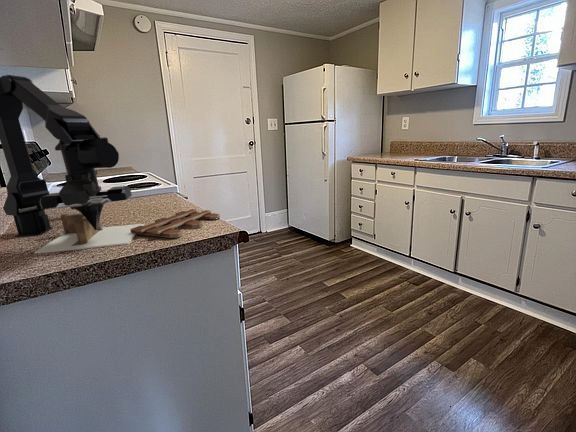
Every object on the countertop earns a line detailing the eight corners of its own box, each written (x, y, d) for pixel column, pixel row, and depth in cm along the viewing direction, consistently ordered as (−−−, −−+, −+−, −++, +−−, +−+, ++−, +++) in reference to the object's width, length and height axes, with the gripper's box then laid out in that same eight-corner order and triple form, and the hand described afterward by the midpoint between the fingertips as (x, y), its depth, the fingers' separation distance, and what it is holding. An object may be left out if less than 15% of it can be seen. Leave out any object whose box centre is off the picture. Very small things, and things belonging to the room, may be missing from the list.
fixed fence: (63, 234, 84) (58, 216, 82) (67, 231, 86) (62, 213, 85) (99, 231, 85) (95, 212, 84) (102, 228, 88) (99, 210, 86)
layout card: (34, 253, 71) (34, 251, 71) (69, 231, 87) (68, 230, 87) (127, 244, 75) (127, 242, 75) (144, 224, 91) (144, 223, 91)
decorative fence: (127, 234, 81) (173, 239, 76) (126, 228, 81) (172, 233, 75) (184, 213, 102) (223, 216, 97) (184, 208, 101) (223, 211, 96)
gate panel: (91, 231, 84) (86, 211, 83) (98, 230, 85) (94, 211, 84) (77, 244, 74) (72, 222, 73) (86, 243, 75) (81, 221, 73)
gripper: (15, 177, 65) (38, 246, 69) (111, 168, 68) (126, 234, 73) (43, 170, 75) (61, 231, 80) (125, 163, 79) (138, 221, 83)
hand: (96, 229), depth 79 cm, fingers closed
